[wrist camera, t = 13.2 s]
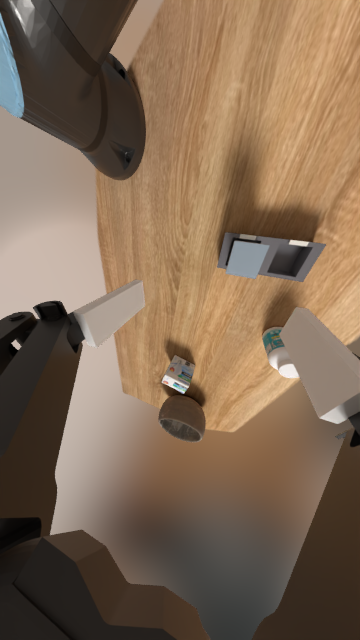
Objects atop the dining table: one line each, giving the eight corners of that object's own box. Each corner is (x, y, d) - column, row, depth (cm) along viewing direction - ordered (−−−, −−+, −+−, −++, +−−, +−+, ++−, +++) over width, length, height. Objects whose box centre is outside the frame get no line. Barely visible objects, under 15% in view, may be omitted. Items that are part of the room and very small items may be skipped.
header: (226, 232, 32) (225, 232, 27) (312, 242, 28) (328, 244, 24) (218, 263, 36) (216, 267, 31) (293, 276, 32) (303, 282, 28)
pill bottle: (295, 327, 38) (320, 364, 27) (284, 346, 42) (303, 385, 31) (265, 323, 40) (278, 356, 29) (258, 342, 44) (267, 377, 33)
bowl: (196, 417, 85) (191, 447, 73) (162, 398, 86) (151, 425, 74) (215, 403, 70) (212, 438, 58) (174, 381, 71) (163, 411, 59)
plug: (233, 238, 31) (234, 240, 21) (256, 241, 30) (269, 245, 20) (227, 261, 34) (225, 273, 24) (247, 264, 33) (255, 278, 23)
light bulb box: (195, 364, 60) (189, 387, 51) (190, 372, 64) (184, 394, 55) (174, 354, 60) (164, 374, 52) (170, 362, 64) (160, 382, 56)
